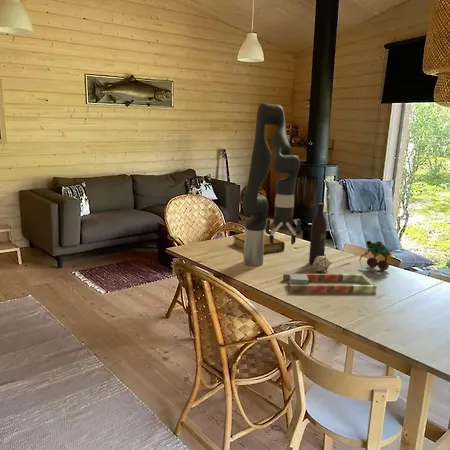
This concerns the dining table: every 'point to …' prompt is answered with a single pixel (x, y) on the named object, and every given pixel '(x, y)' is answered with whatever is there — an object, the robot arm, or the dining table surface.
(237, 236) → the diary
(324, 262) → the game die
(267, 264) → the dining table surface
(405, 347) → the dining table surface
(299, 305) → the dining table surface
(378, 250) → the wheeled frog toy
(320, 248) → the wine bottle
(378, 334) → the dining table surface
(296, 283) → the slate block
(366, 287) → the tray
